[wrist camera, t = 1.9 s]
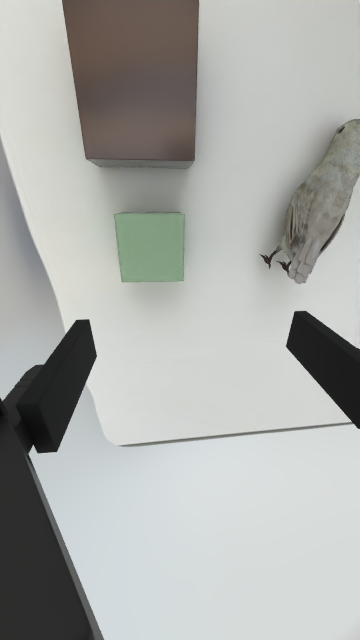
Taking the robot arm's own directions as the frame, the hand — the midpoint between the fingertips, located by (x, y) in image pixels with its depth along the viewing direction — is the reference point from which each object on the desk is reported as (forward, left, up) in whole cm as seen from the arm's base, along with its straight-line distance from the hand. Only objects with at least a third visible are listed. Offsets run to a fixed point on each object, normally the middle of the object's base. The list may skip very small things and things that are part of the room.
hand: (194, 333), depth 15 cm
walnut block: (-12, -11, -18) cm, 24 cm away
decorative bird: (-14, +10, -18) cm, 25 cm away
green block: (-1, -4, -18) cm, 19 cm away
